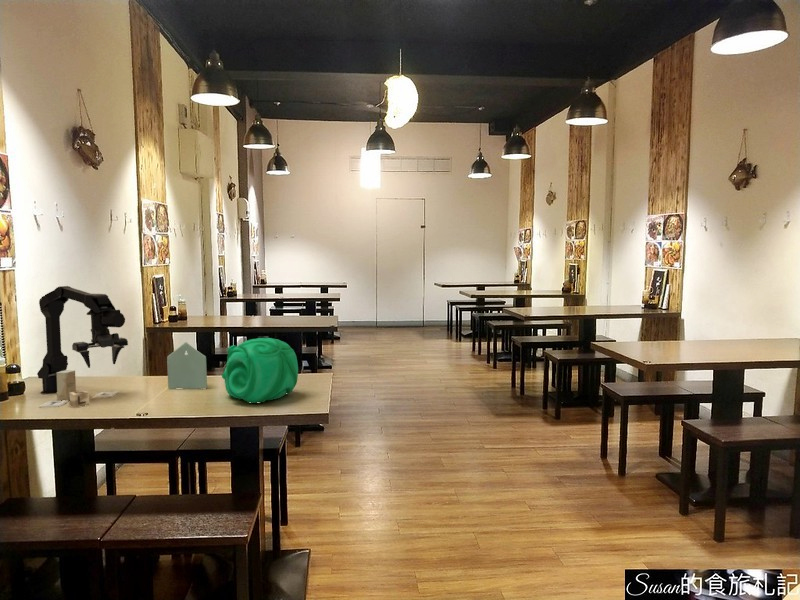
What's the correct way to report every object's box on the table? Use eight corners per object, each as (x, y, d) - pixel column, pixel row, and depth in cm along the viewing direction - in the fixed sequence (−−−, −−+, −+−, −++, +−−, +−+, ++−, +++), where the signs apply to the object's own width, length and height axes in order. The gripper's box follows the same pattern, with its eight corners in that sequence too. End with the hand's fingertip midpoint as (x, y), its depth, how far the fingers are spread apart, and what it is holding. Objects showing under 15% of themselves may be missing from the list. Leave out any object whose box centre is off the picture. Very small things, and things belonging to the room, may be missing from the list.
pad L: (93, 398, 223) (93, 396, 223) (100, 393, 230) (100, 391, 230) (111, 397, 224) (111, 395, 223) (118, 393, 230) (118, 391, 230)
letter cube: (74, 408, 209) (73, 394, 208) (70, 405, 212) (69, 392, 212) (89, 405, 212) (88, 392, 212) (84, 403, 216) (84, 389, 215)
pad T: (39, 407, 210) (39, 405, 209) (49, 402, 216) (49, 400, 216) (59, 406, 210) (59, 405, 210) (68, 401, 217) (68, 400, 217)
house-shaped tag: (213, 384, 244) (212, 339, 243) (206, 389, 236) (205, 342, 235) (176, 384, 245) (174, 339, 243) (168, 389, 237) (166, 342, 235)
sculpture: (244, 369, 243) (276, 317, 233) (285, 415, 234) (320, 363, 224) (195, 382, 220) (228, 324, 209) (238, 433, 211) (276, 376, 200)
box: (66, 401, 218) (65, 372, 217) (57, 400, 219) (55, 372, 218) (77, 397, 224) (75, 370, 223) (67, 397, 224) (66, 369, 223)
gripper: (80, 330, 210) (83, 372, 211) (132, 325, 223) (134, 365, 225) (70, 328, 217) (73, 368, 219) (121, 323, 231) (123, 361, 232)
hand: (101, 365), depth 223 cm, fingers open, 9 cm apart
